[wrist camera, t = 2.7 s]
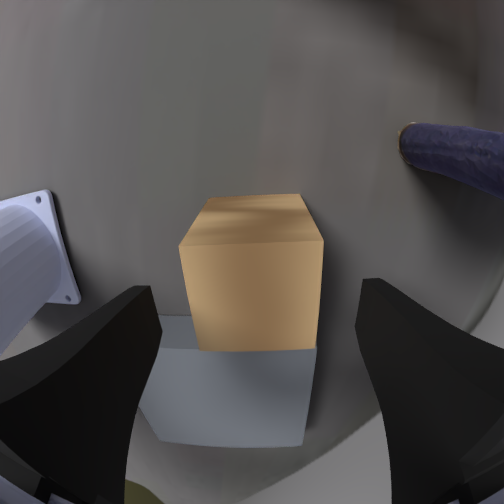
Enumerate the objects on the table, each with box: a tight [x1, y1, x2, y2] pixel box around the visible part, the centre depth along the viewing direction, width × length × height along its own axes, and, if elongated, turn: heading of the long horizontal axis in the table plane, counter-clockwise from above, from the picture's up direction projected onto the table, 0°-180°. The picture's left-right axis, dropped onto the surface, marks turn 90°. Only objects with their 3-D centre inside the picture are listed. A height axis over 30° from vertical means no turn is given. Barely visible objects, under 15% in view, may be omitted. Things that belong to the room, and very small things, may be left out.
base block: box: [138, 315, 317, 448], centre depth 19 cm, size 12×12×3 cm
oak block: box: [179, 194, 324, 351], centre depth 13 cm, size 4×4×6 cm
